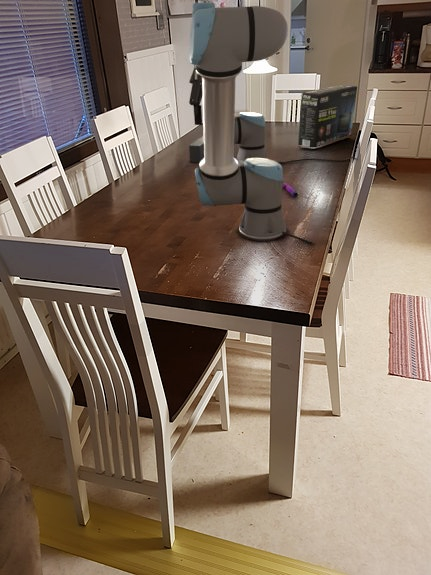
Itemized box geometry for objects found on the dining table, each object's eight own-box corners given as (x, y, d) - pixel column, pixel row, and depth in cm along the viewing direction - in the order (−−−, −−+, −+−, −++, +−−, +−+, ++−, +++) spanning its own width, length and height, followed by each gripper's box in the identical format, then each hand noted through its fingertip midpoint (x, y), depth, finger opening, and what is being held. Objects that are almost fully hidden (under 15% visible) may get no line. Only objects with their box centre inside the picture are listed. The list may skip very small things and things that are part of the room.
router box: (314, 151, 231) (318, 94, 217) (296, 148, 237) (299, 92, 224) (352, 138, 251) (358, 85, 238) (335, 135, 258) (340, 83, 245)
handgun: (264, 183, 192) (264, 178, 191) (281, 181, 193) (281, 176, 192) (279, 199, 175) (279, 194, 174) (298, 197, 176) (298, 192, 175)
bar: (200, 162, 221) (199, 145, 217) (190, 162, 223) (188, 145, 219) (218, 147, 245) (218, 132, 241) (209, 147, 247) (208, 131, 242)
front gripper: (214, 52, 166) (216, 114, 177) (175, 59, 148) (180, 127, 159) (232, 52, 163) (233, 115, 174) (195, 59, 145) (199, 129, 156)
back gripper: (235, 50, 219) (235, 97, 230) (186, 51, 226) (189, 97, 237) (230, 51, 213) (231, 100, 224) (180, 52, 220) (184, 99, 231)
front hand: (208, 121), depth 166 cm, fingers open, 13 cm apart
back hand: (209, 98), depth 230 cm, fingers open, 13 cm apart
